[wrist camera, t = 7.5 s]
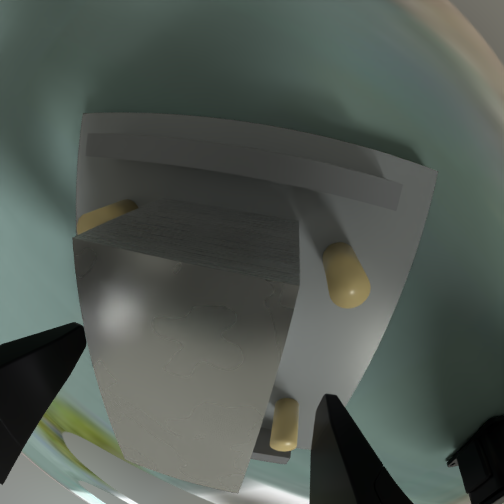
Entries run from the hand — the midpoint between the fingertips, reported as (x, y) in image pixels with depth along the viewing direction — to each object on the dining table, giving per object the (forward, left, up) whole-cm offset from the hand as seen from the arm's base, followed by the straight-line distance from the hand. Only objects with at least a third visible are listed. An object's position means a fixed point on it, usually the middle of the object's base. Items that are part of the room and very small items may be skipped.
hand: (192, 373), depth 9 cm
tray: (0, 0, -4) cm, 4 cm away
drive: (0, 0, -3) cm, 3 cm away
